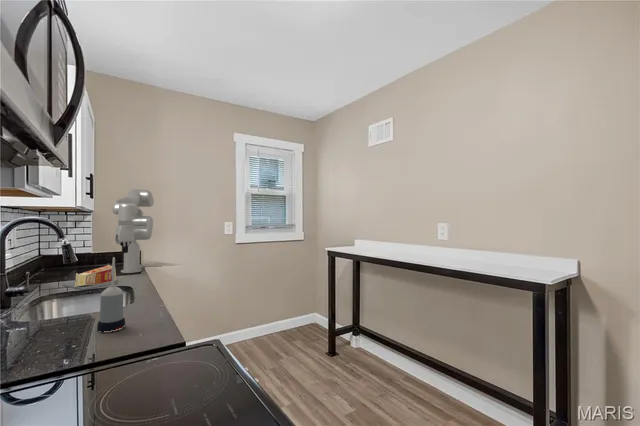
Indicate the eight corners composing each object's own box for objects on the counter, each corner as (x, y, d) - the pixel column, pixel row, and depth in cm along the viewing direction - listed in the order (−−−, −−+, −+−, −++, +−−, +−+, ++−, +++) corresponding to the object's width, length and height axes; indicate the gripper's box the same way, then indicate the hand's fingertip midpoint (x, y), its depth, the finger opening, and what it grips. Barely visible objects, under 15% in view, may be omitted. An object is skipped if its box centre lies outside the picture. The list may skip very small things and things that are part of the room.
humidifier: (119, 332, 106) (121, 258, 107) (92, 333, 105) (94, 259, 105) (128, 324, 114) (130, 255, 115) (103, 325, 113) (105, 256, 113)
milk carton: (116, 280, 184) (81, 291, 165) (104, 279, 186) (68, 289, 167) (115, 265, 183) (80, 274, 164) (103, 264, 186) (67, 273, 167)
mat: (97, 280, 189) (97, 279, 189) (117, 283, 180) (117, 282, 180) (62, 285, 173) (62, 284, 173) (82, 289, 164) (82, 288, 164)
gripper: (132, 222, 204) (132, 250, 205) (109, 223, 191) (108, 253, 191) (140, 223, 201) (140, 251, 202) (117, 224, 188) (116, 254, 188)
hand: (124, 252), depth 197 cm, fingers closed
